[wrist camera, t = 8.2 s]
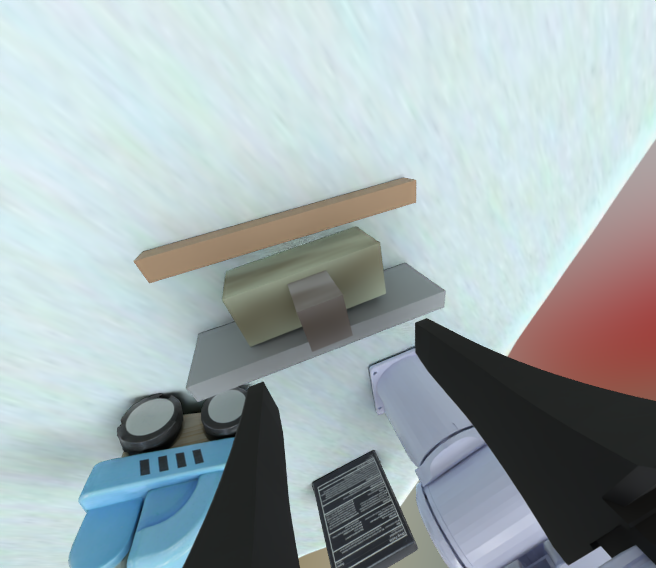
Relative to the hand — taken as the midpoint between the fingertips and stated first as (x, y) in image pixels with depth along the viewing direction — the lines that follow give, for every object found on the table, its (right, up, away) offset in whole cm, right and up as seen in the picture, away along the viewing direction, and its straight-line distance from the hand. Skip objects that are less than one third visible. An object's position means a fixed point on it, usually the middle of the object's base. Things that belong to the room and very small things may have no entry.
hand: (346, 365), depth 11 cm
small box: (+2, -26, +27) cm, 38 cm away
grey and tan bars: (-3, +5, +8) cm, 10 cm away
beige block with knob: (-3, +5, +8) cm, 10 cm away
